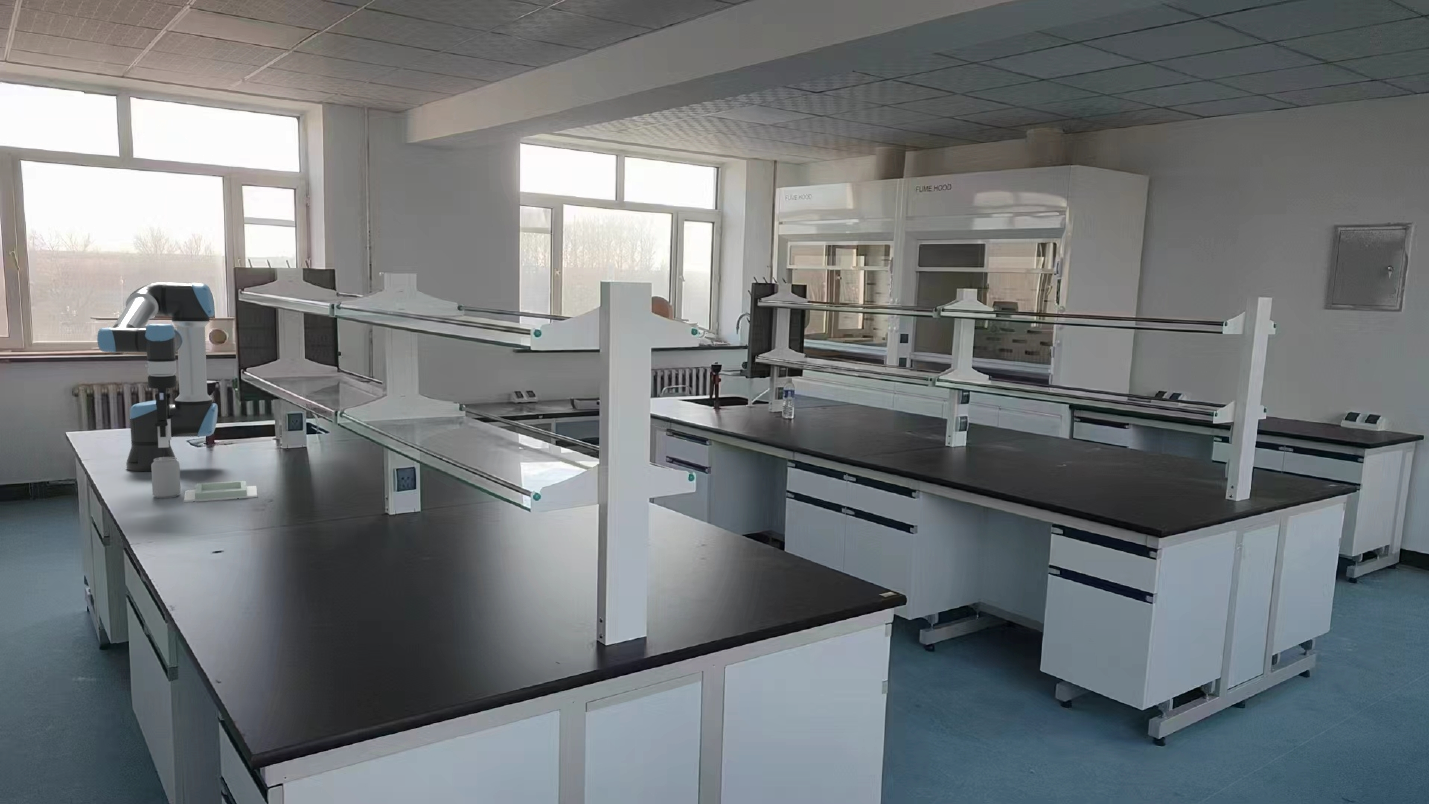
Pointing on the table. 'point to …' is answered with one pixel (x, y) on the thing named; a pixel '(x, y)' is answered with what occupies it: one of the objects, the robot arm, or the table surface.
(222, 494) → the green and white tray
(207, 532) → the table surface
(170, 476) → the can
